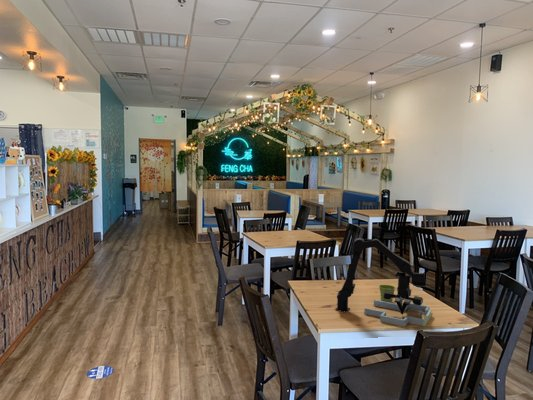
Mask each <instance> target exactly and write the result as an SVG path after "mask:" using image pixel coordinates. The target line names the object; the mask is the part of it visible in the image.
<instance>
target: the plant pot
mask: <svg viewBox="0 0 533 400" xmlns="http://www.w3.org/2000/svg"><path fill="white" fill-rule="evenodd" d="M378 287H379V288H378V289H379V293H380V301H383V302H389V303H393V300H394V298H391V299H384V293H386V292H387V291H390V292H394V293H395V290H397V287H396V286H394V285H390V284H380V285H378Z"/></svg>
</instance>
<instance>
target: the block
mask: <svg viewBox="0 0 533 400" xmlns="http://www.w3.org/2000/svg"><path fill="white" fill-rule="evenodd" d="M406 312H407V313H406V316H409V317H414V318H419V319H423V314H422V311H419V310H413V309H410V310H409V311H406Z"/></svg>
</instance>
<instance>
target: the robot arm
mask: <svg viewBox="0 0 533 400" xmlns="http://www.w3.org/2000/svg"><path fill="white" fill-rule="evenodd" d="M370 248H375V249H377V250H378V251H379V252H380V253H382V254H383V255H384V256H385V257H387V258H388V259H389V260H390V261H392V263H393V264H394V265H395V266H396V267H397V268H398V270H397V271H396V272H395V273H394V277H398V278H397V287H396V291H397V292H396V293H397V294H395V291H394V292H390V291H387V292H386V293H384V299H391V298H393V299H394V303H395V304H397V305H398V307H399V310H400V311H399V310H398V311H399V312H400V315H404V313H405V312H406V311H405V308H406V306H407V305H409V304H410V303H413V304H415V305H423V303H424V298H423V297H421V296H418V295H417V296H416V295H415V296H414V297H411V296H412V288H411V287H410V284H412V285H413V287H423V288H424V287H426V284H427V283H426V282H427V281H426V273H425V272H414V270H413V269H412V267H411V263H410V261H408V260H407V259H405V258H403V257H402V256H400V255H397V254H396V253H395V252H393V251H392V250H391V249H390V248H389V247H387V246H386V245H385V244H384V243H383V242H381V241H380V239H378V238H365V239H364V238H361V237H357V238H356V239H355V240H354V242H353V248H352V256H351V261H350V263H349V268H348V271H347V276H346V279H345V281H344V282H343V284H342V287H341V289H340V290H339V291H338V292H337V295H336V299H337V301H336V302H337V303H336V307H335V308H334V310H335V309H336V310H335V311H338V310H341V311H340V312H343V311H345V312H344V313H346V311H347V312H349V310H351V307H349V298H351V296H352V295H353V294H354V291H355V287H356V283H354V278H355V275H356V271H357V267H358V264H359V259H360V256H361V254H362V253H363V250H364V249H370ZM402 305H403V306H402Z"/></svg>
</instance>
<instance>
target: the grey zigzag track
mask: <svg viewBox="0 0 533 400" xmlns="http://www.w3.org/2000/svg"><path fill="white" fill-rule="evenodd" d="M373 306H375V307H379V308H383V309H384V308H385V309H389V310H394V311H399V312H400V310H399V307H398V305H397V303H395V302H394V303H393V302H391V303H390V302H383V301H381V300H377V299H374V300H373ZM402 306H403V304H402ZM430 307H431V306H429V305H423V304H421V305H415V304H413V302H411V303H410V304H409V305H407V306H406V308H405V311H404V312H408V311H409V310H410V309H413V310H419V311H422V315H424V317H423V318H422V319H419V318H414V317H409V316H407V315H406V316H405V317H404V318H403V319H402V318H397V317H393V316H387V311H383V310H379V309H373V308H369V307H364V313H363V314H364V315H367V314H368V315H367V316H373V317H379V322H380V321H381V323H385V324H391V325H396V326H400V327H406V326H407V324H412V325H417V326H421V327H425V326H426V325H427V324H428V322H429V321H430V319H431V318H432V310H431V309H430Z"/></svg>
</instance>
